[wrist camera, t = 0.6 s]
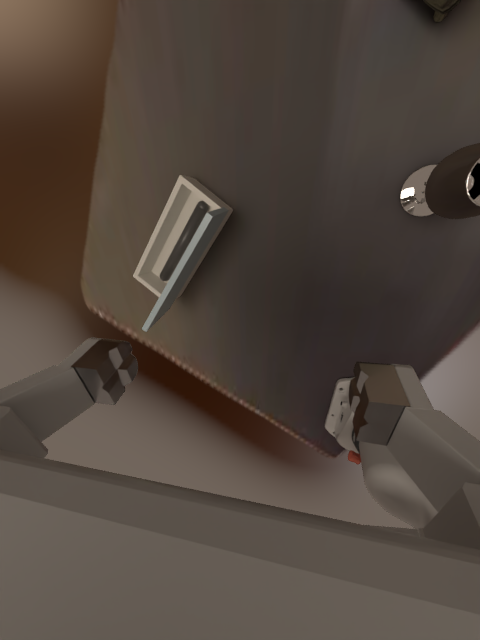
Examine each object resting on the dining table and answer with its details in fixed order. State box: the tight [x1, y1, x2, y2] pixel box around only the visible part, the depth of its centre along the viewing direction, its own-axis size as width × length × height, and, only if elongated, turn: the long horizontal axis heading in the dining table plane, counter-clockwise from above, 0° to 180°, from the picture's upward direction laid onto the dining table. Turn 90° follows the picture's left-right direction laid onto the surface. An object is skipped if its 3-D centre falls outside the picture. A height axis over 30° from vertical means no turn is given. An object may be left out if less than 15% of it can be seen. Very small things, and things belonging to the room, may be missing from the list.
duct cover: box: [142, 207, 229, 332], centre depth 47 cm, size 11×25×1 cm
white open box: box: [133, 175, 233, 299], centre depth 54 cm, size 10×24×6 cm, turn 143°
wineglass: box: [400, 143, 480, 219], centre depth 33 cm, size 8×8×20 cm
